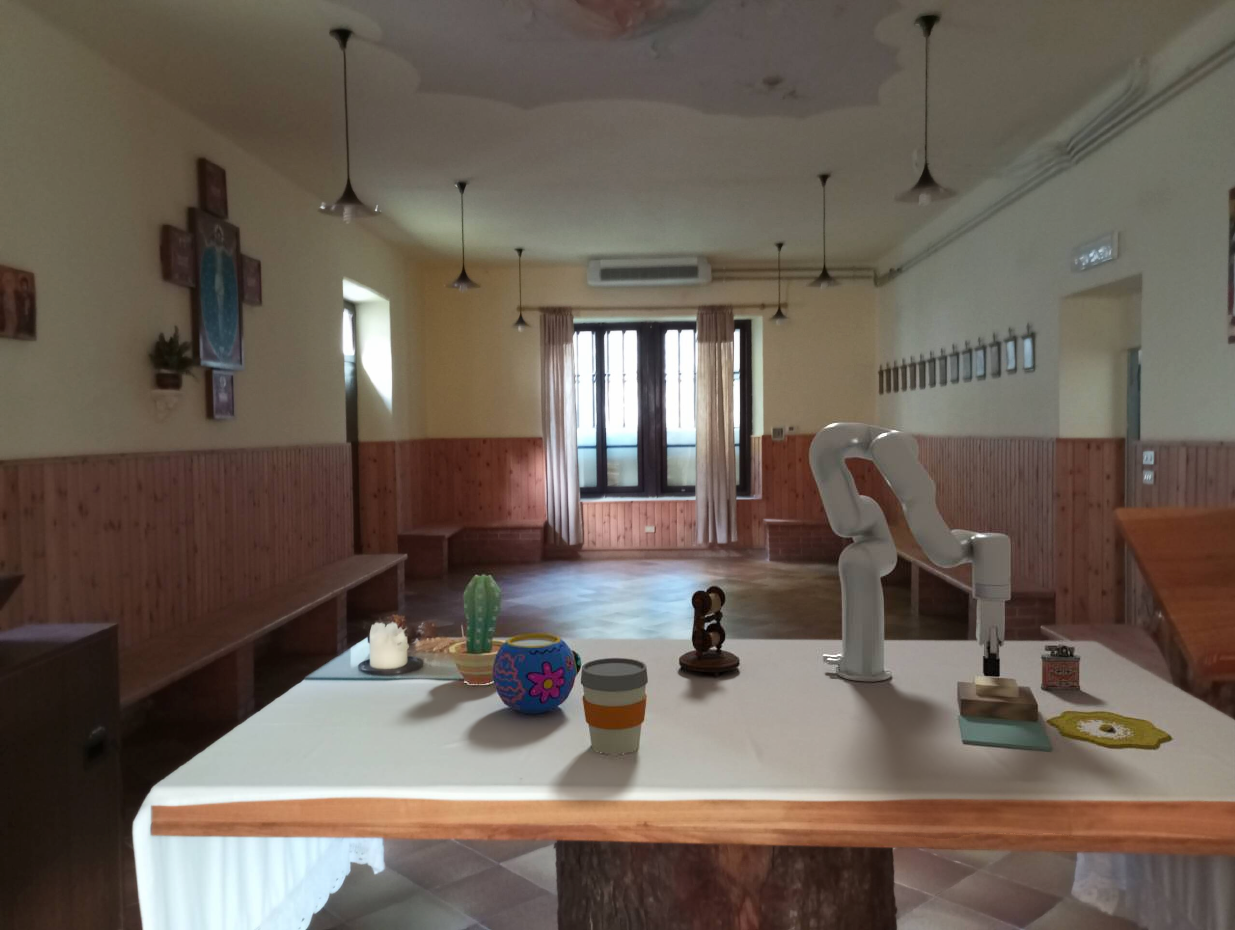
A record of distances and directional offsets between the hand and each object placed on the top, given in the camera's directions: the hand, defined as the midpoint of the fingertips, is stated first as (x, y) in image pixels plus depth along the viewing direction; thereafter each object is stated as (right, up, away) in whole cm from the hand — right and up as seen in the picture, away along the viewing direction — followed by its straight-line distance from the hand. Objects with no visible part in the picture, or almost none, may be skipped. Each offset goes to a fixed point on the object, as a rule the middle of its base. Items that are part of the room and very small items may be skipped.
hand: (991, 675), depth 184 cm
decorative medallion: (+13, -6, -20) cm, 25 cm away
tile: (-3, -1, -8) cm, 9 cm away
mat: (-7, -6, -22) cm, 23 cm away
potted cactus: (-113, -6, +19) cm, 115 cm away
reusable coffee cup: (-81, -8, -24) cm, 85 cm away
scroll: (-58, -5, +25) cm, 63 cm away
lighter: (+17, -5, +5) cm, 19 cm away
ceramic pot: (-98, -7, -3) cm, 98 cm away
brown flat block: (-3, -5, -9) cm, 11 cm away
